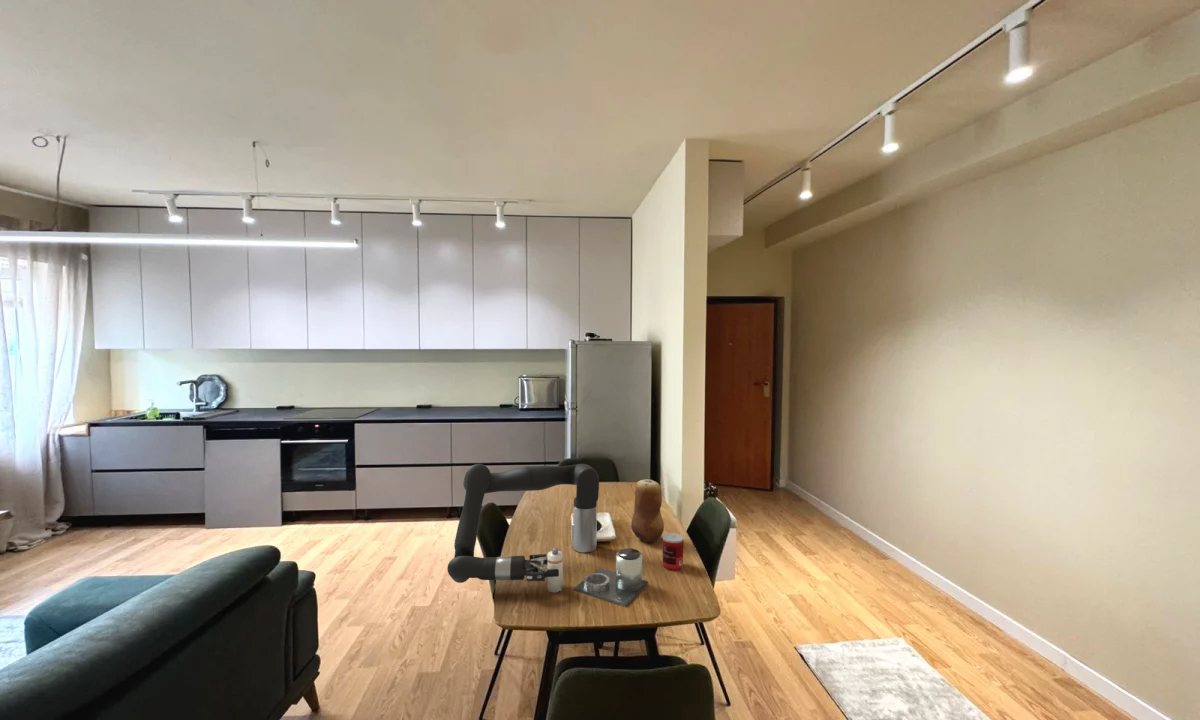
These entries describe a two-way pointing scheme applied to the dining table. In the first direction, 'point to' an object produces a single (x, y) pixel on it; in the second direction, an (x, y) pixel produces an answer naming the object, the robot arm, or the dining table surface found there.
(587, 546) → the robot arm
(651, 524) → the butternut squash
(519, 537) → the dining table surface
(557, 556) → the bottle
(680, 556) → the canned food
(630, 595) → the grey tray with jar
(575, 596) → the dining table surface
